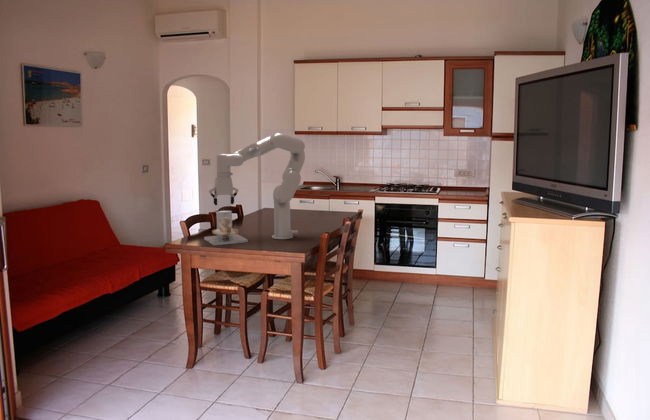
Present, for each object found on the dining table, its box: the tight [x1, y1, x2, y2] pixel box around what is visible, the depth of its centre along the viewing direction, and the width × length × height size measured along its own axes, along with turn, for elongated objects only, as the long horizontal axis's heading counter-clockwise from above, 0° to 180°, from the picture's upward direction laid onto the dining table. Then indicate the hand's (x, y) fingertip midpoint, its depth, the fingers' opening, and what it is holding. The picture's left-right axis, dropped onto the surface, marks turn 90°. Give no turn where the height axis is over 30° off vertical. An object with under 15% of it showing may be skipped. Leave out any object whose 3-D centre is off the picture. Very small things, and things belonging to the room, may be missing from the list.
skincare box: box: [215, 210, 233, 229], centre depth 344 cm, size 8×6×15 cm
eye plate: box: [203, 233, 249, 246], centre depth 327 cm, size 20×20×2 cm
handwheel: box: [211, 217, 239, 238], centre depth 326 cm, size 15×15×11 cm
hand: (224, 204), depth 324 cm, fingers open, 9 cm apart
